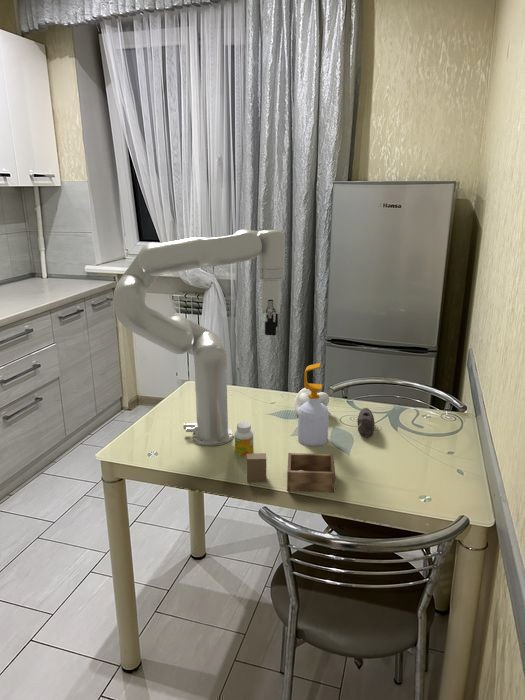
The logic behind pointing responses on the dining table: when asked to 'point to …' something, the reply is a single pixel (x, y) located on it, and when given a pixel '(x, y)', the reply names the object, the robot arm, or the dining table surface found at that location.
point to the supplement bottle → (243, 440)
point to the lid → (256, 467)
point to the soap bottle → (313, 415)
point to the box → (311, 472)
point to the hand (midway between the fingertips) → (271, 330)
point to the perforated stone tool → (366, 423)
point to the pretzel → (303, 398)
